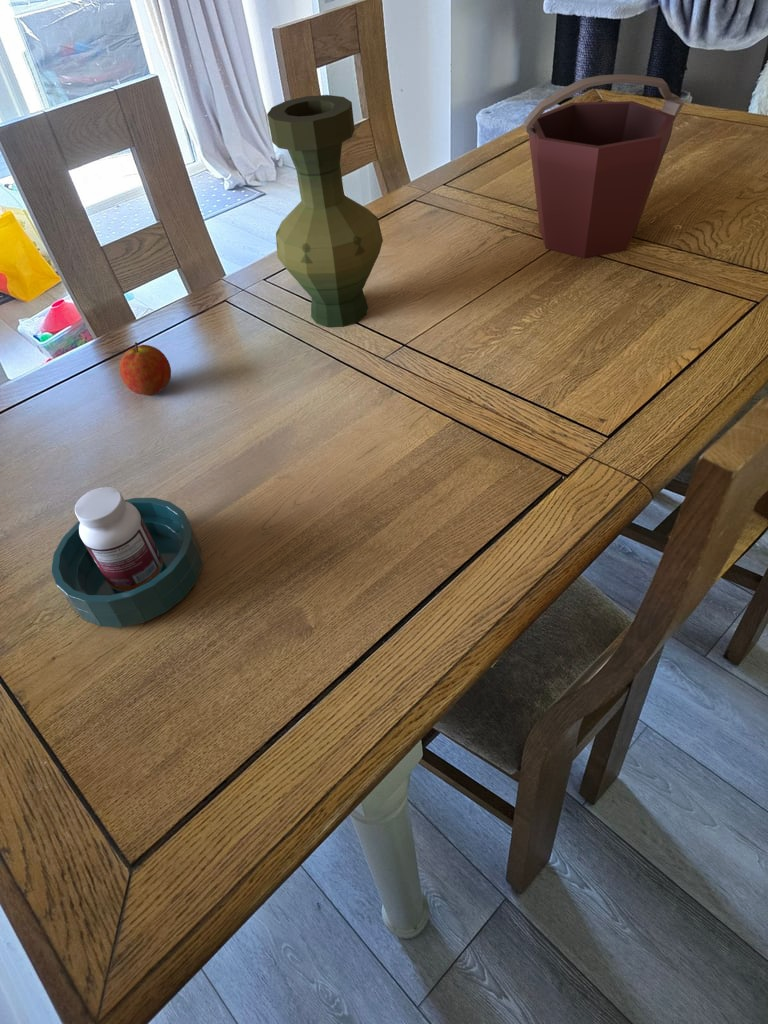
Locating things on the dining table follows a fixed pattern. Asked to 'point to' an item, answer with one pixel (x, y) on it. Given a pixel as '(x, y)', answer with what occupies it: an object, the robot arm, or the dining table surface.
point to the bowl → (147, 601)
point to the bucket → (596, 165)
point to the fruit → (145, 370)
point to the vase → (324, 211)
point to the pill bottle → (117, 539)
